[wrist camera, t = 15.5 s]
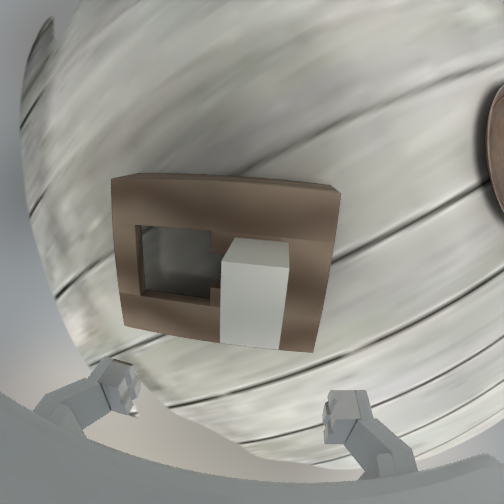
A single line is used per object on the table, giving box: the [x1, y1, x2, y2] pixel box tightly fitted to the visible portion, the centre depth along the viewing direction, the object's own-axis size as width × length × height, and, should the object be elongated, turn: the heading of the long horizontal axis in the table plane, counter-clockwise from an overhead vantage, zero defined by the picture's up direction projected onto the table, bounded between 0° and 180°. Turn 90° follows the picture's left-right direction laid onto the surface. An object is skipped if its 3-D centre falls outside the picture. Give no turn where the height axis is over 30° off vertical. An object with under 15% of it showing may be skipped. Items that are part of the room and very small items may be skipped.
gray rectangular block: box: [220, 238, 289, 350], centre depth 22 cm, size 6×4×8 cm
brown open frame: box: [111, 173, 341, 353], centre depth 26 cm, size 14×18×5 cm
